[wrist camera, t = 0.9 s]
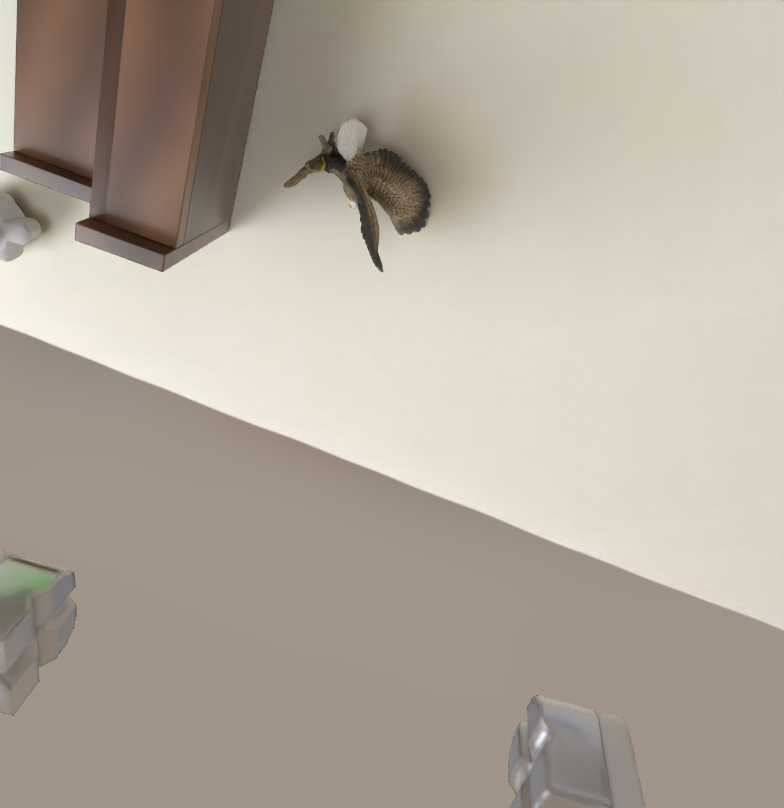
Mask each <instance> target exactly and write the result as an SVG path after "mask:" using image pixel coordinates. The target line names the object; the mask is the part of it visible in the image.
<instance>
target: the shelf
mask: <svg viewBox="0 0 784 808" xmlns="http://www.w3.org/2000/svg"><path fill="white" fill-rule="evenodd" d="M273 2H274V0H17V32H16V74H15V116H14V151H11V152H6V153H0V170H2V171H5V172H8V173H11V174H13V175H16V176H19V177H21V178H24V179H27V180H30V181H32V182H35V183H38V184H40V185H43V186H46V187H49V188H51V189H54V190H57V191H59V192H62V193H65V194H68V195H70V196H73V197H76V198H78V199H81V200H84V201H86V202H89V203H90V213H89V217H90V218H87V219H85V220H82V221H79V222H77V223H76V228H75V240H76V241H79V242H82V243H85V244H87V245H90V246H93V247H96V248H98V249H101V250H104V251H106V252H109V253H112V254H115V255H117V256H120V257H123V258H126V259H128V260H131V261H134V262H136V263H139V264H142V265H145V266H147V267H150V268H153V269H156V270H158V271H161V272H164V271H165V270H167V269H168V268H170V267H172V266H173V265H175V264H176V263H178V262H180V261H181V260H183V259H185V258H186V257H188V256H189V255H191V254H193V253H194V252H196V251H198V250H199V249H201V248H202V247H204V246H206V245H207V244H209V243H210V242H212V241H214V240H215V239H217V238H219V237H220V236H222V235H223V234H225V233H227V232H228V229H229V224H230V218H231V215H232V210H233V205H234V200H235V194H236V189H237V184H238V179H239V174H240V169H241V164H242V159H243V154H244V149H245V144H246V139H247V134H248V129H249V124H250V119H251V114H252V109H253V103H254V98H255V93H256V88H257V83H258V78H259V73H260V68H261V63H262V58H263V53H264V48H265V43H266V38H267V33H268V28H269V23H270V18H271V12H272V7H273Z"/></svg>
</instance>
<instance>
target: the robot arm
mask: <svg viewBox="0 0 784 808" xmlns="http://www.w3.org/2000/svg"><path fill="white" fill-rule="evenodd" d="M74 588H75V576H74V572H71V571H68V570H65V569H61V568H58V567H55V566H52V565H48V564H45V563H41V562H38V561H35V560H31V559H28V558H25V557H21V556H17V555H14V554H10V553H7V552H3V551H0V713H3V714H7V715H11V716H14V715H15V713H16V712H17V710H18V709H19V708H20V706H21V705H22V704H23V702H24V701H25V700H26V699H27V697H28V696H29V694H30V693H31V692H32V691H33V689H34V688H35V687H36V685H37V684H38V682H39V667H41V666H43V665H45V664H47V663H49V662H51V661H53V660H55V659H56V658H57V657H58V655H59V654H60V653H61V651H62V650H63V648H64V647H65V646H66V644H67V642H68V640H69V637H70V635H71V633H72V631H73V629H74V625H75V621H76V616H77V607H76V603H75V602H74V601H73V600H72V598H71V597H70V596H69V594H70V593H71V591H72V590H73V589H74ZM508 781H509V783H510V785H511V787H512V789H513V790H514V792H515V794H516V797H515V799H514V801H513V802H512V804H511V806H510V808H645V803H644V798H643V793H642V789H641V784H640V779H639V775H638V769H637V765H636V760H635V755H634V750H633V746H632V741H631V736H630V732H629V727H628V724H627V722H626V721H625V719H624V718H622V717H618V716H614V715H610V714H607V713H603V712H599V711H596V710H592V709H590V708H587V707H583V706H579V705H575V704H570V703H567V702H563V701H559V700H555V699H551V698H547V697H543V696H539V695H535V696H534V697H533V698H532V699H531V701H530V703H529V705H528V707H527V720H526V721H524V722H522V723H519V725H518V727H517V729H516V731H515V733H514V736H513V739H512V744H511V748H510V753H509V764H508Z"/></svg>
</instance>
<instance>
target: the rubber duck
mask: <svg viewBox="0 0 784 808" xmlns="http://www.w3.org/2000/svg"><path fill="white" fill-rule="evenodd" d="M41 232H42V231H41V226H40V224H39V223H38V222H37V221H36V220H34V219H32V218H28V217H25V215H24V214H23V212H22V210H21V209H20V208H19V206H17V205H16V204H15V201H14V198H13V197H12V196H11V195H10V194H8V193H5V192H0V260H1V261H12V260H14V259H15V258H17V257H19V256H20V255H21V254H22V253H23V248H24V246H25V245H26V244H28V243H29V242H30V241H31V240H33V239H35V238H37V237H39V236H40V235H41Z"/></svg>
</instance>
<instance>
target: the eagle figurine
mask: <svg viewBox="0 0 784 808" xmlns="http://www.w3.org/2000/svg"><path fill="white" fill-rule="evenodd" d="M366 135H367V128H366V126H365V125H364V124H363V123H361V122H360V121H358V120H357V119H356V118H353V119H348V120H347V121H345V122H344V123H343V124H342V125H341V128H340V130H339V133H338V135H337V143H334V139H335V135H334V132H331V133H330V136H329V141H328V142H327V141H326V139H325V137H324V136H323V135H320V136H319V139H320V141H321V143H322V145H323V149H322V153H321V154H319V155H318V156H317V157H315V158H314V159H312V160H310V161H308V162H306V164H305V166H304V167H303V168H302V169H301V170H300V171H299V172H298V173H297V174H296V175H295V176H294V177H292V178H291V179H290V180H289V181H287V182H286V183H285V184H284V187H285V188H290V187H292V186H295V185H296V184H297V183H298V182H300V181H301V180H302V179H304V178H306V176H307V175H308V174H310V173H313V172H319V171H322V170H325V171H326V172H328V173H334V174H335V175H336V176H338V177H339V179H340V180H341V181H342V182H343V188H344V192H345V194H346V196H347V199H348V202H349V206H350V207H351V208H352V209H355V208H356V207H357V206H358V209H359V213H360V215H361V217H360V221H361V223H362V225H361V233H362V234H363V239H364V240H365V243H366V245H367V248H368V250H369V253H370V256H371V258H372V260H373V263H374V264H375V266H376V267H378V269H379V270H380V271H381V272H383V269H382V263H381V260H380V257H379V254H378V244H379V224H378V220H377V216H376V213H375V210H374V207H373V204H372V202H371V200H370V197H371V198H373V199H374V200H375V201H377V202H378V203H379V204H380V205H381V207H382V208H383V209H384V210H385V211H386V212H387V214H388V215H389V216H390V219H391V221H392V223H393V225H394V227H395V229H396V231H397V232H398V233H399V234H400V235H403V234H404V233H406V234H411V233H412V232H413V231H415V232H419V231H420V229H421V228H424V227H425V225H426V222H425V220H426V219H428V218H429V212H428V210H427V208H428V207H430V202H429V199H430V194H429V190H428V189H427V184H426V183H425V182H424V180H423V178H421V177H419V176H418V174H417V173H416V172H415V171H414V170H410V167H409V166H407V164H406V163H404V162H402V159H401V158H400V157H399V156H398V155H397V154H395V153H394V152H392V151H388V150H387V149H379V150H378V151H373V152H372V153H370V152H367V153H366V154H364V153H363V150H364V144H365V139H366Z"/></svg>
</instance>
